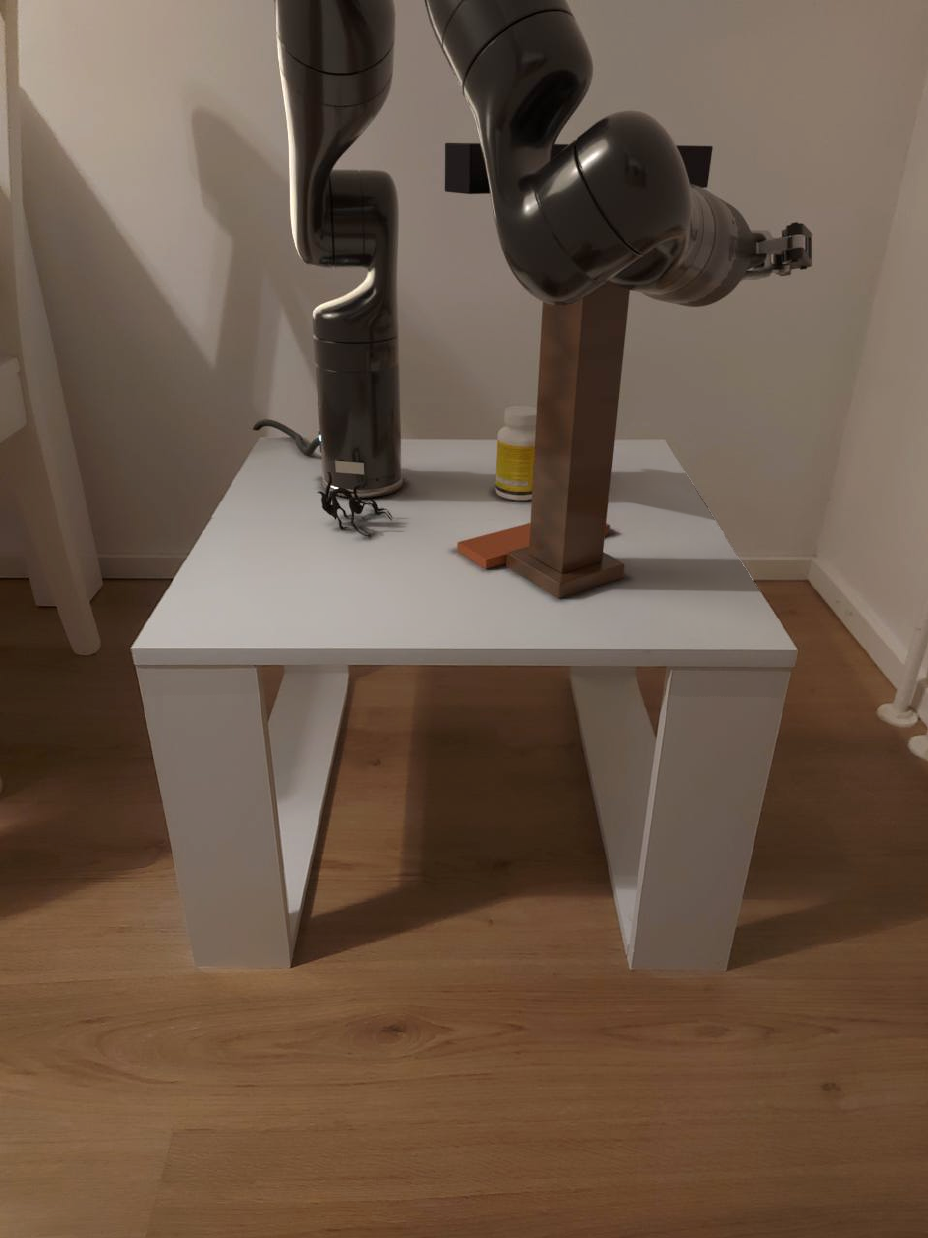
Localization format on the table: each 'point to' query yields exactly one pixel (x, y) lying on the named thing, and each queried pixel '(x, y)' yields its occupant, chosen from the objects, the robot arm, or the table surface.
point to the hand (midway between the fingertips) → (741, 269)
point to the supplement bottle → (516, 454)
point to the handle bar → (471, 176)
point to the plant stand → (575, 443)
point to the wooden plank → (497, 545)
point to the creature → (353, 504)
